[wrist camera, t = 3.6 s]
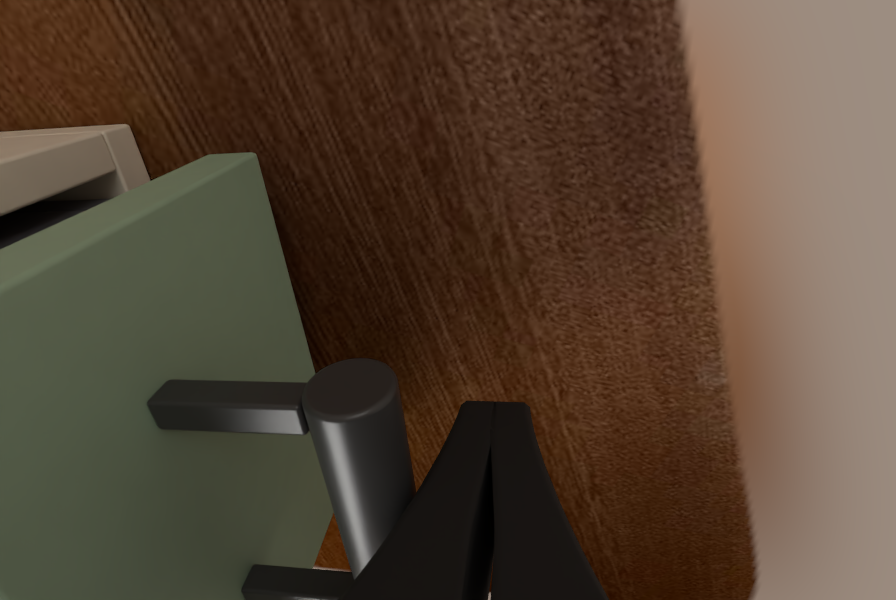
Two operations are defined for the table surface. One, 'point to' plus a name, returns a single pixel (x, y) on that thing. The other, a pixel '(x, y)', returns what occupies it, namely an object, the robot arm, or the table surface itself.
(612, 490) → the table surface
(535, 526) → the robot arm
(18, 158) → the storage box
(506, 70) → the table surface
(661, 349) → the table surface
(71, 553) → the drawer
